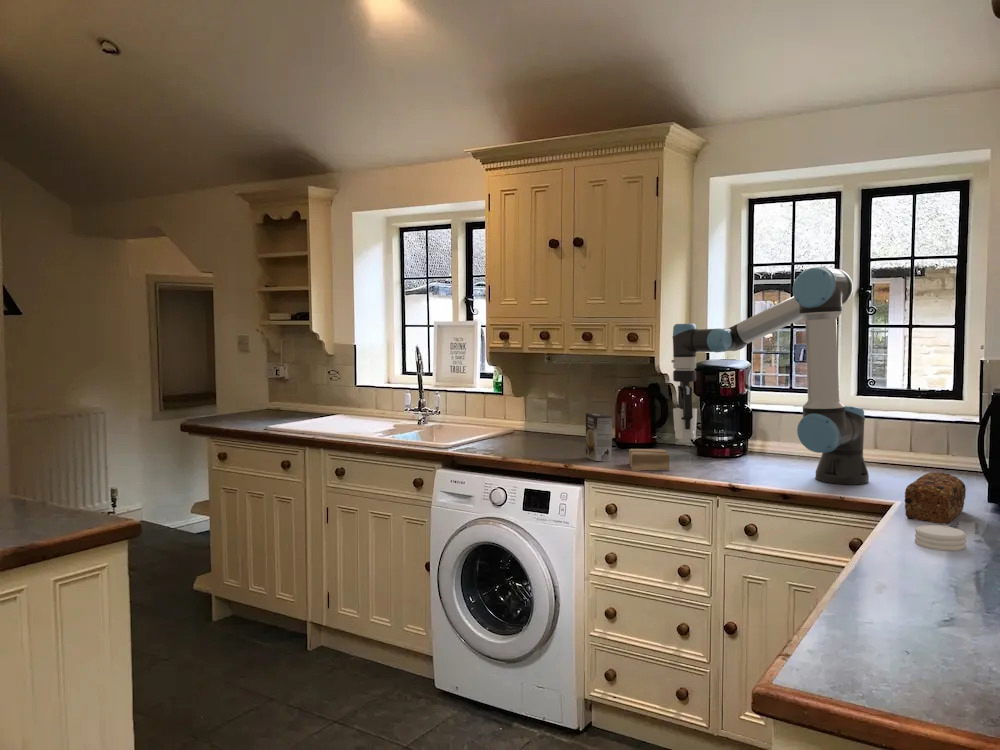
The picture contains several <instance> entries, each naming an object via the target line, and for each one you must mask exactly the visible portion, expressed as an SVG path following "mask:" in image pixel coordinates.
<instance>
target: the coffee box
mask: <svg viewBox="0 0 1000 750" xmlns="http://www.w3.org/2000/svg"><path fill="white" fill-rule="evenodd" d="M612 444H613V415H609V414H606V413H603V412H586V413H585V458H586V457H587V458H586V459H588V458H589V460H590V459H591V461H593V460H594V461H593V462H595V461H603V462H609V461H608V460H611V461H612V456H613V455H612V454H613V453H612V451H613V448H612V446H613V445H612Z"/></svg>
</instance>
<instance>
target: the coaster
mask: <svg viewBox="0 0 1000 750" xmlns="http://www.w3.org/2000/svg"><path fill="white" fill-rule="evenodd" d="M914 532H915V533H914V537H915V538H914V542H915V544H917V545H918V546H920V547H923V548H926V549H929V550H930V549H931V550H936V551H944V552H959V551H963V550H965V549H966V547H967V545H966V543H967V539H966V538H967V533H965V531H963V530H961V529H959V528H956V527H951V526H945V525H937V524H936V525H935V524H928V525H927V524H924V525H919V526H917V527H915V529H914Z"/></svg>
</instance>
